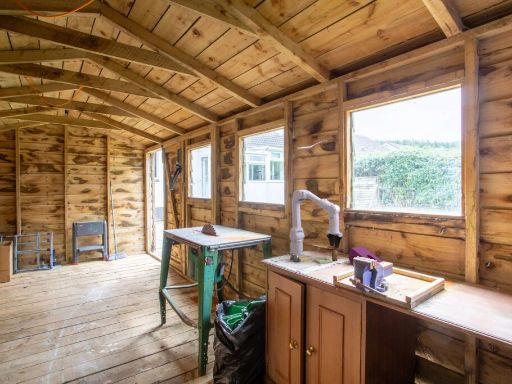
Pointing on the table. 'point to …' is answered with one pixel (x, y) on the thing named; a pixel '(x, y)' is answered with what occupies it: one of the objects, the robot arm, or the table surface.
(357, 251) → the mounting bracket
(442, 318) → the table surface
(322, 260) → the tray
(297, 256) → the dog
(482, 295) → the table surface
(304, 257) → the plate
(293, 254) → the dog
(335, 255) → the dowel
